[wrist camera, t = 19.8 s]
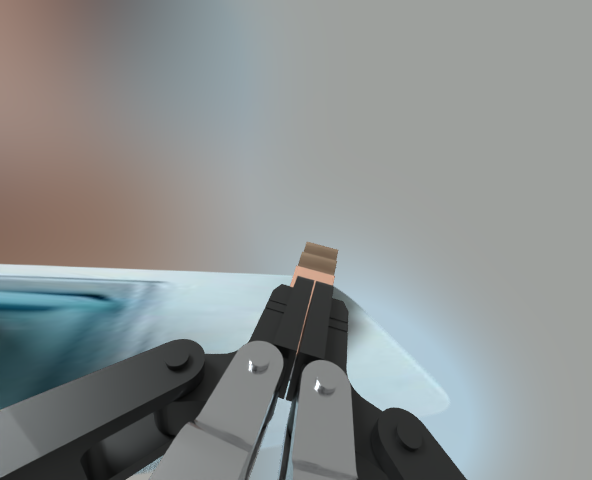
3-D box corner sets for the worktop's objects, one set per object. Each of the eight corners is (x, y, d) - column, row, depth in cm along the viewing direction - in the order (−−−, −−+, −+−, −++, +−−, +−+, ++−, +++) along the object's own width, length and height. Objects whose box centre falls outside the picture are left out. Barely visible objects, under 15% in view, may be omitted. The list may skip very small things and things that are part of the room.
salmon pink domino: (317, 360, 27) (334, 276, 32) (271, 346, 27) (296, 265, 33) (315, 362, 29) (332, 282, 34) (272, 349, 29) (295, 272, 34)
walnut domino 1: (325, 310, 34) (338, 250, 39) (288, 300, 34) (306, 241, 40) (323, 315, 35) (335, 256, 41) (288, 305, 36) (305, 248, 41)
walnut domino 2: (321, 332, 30) (337, 260, 35) (281, 320, 31) (302, 251, 36) (319, 336, 32) (334, 267, 37) (281, 325, 32) (301, 258, 38)
